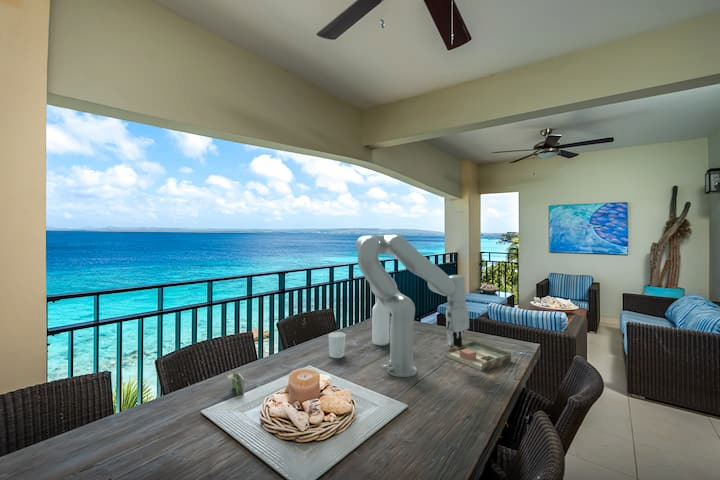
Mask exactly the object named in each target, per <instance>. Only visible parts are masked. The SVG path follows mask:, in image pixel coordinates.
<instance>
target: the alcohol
mask: <svg viewBox="0 0 720 480" xmlns="http://www.w3.org/2000/svg"><path fill="white" fill-rule="evenodd" d="M375 299H376V301H375V304H374V305H373V307H372V312H371V314H372V315H371V316H372V318H371V319H372V325H371V326H372V327H371V329H372V331H371V333H372V334H371V335H372V337H371V338H372V340H371V341H372V344H373V345H376V346H381V347H382V346H387V345H388V344H390V312H389V311H388V310H387V309H386V308H385V307H384V306H383V304H382V303H381V302H380V301H379V299H378V298H377V297H376V298H375Z"/></svg>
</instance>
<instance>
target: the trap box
mask: <svg viewBox="0 0 720 480" xmlns="http://www.w3.org/2000/svg"><path fill="white" fill-rule="evenodd" d="M463 349H470V350H473V351H475V352H476V359H473V360H470V361H468V360H465V359H463V358H460V350H463ZM445 357H446V358H449V359H450V360H453V361H456V362H458V363H460V364H463V365H466V366H468V367H471V368H473V369H475V370H478V371H480V372H486V371H488V370H493V369H495V368H497V367H500V366H502V365H505V364H509V363H511V362H512V352H510V351H507V350H504V349H501V348H497V347H494V346H491V345H488V344H486V343H485V344H484V343H481V342H479V341H475V340H472V341H471V342H467V343H462V347H449V348H446V349H445Z"/></svg>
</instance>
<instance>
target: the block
mask: <svg viewBox="0 0 720 480" xmlns="http://www.w3.org/2000/svg"><path fill="white" fill-rule="evenodd" d="M460 358H463V359H465V360H468V361H470V360H473V359H476V352H475V351H473V350H470V349H463V350H460Z"/></svg>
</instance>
